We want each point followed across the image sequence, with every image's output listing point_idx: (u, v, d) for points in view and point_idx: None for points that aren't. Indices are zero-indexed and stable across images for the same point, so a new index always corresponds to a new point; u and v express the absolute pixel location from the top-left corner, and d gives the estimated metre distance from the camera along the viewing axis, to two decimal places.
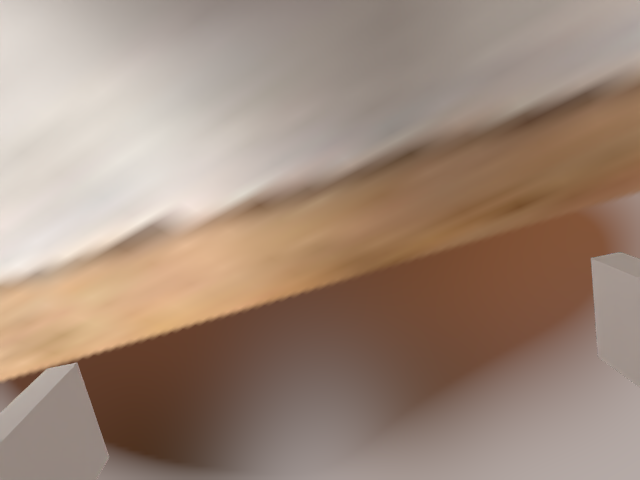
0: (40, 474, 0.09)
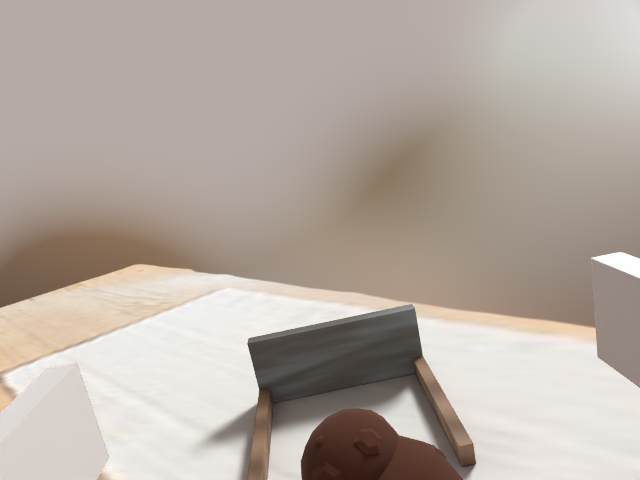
0: (40, 474, 0.09)
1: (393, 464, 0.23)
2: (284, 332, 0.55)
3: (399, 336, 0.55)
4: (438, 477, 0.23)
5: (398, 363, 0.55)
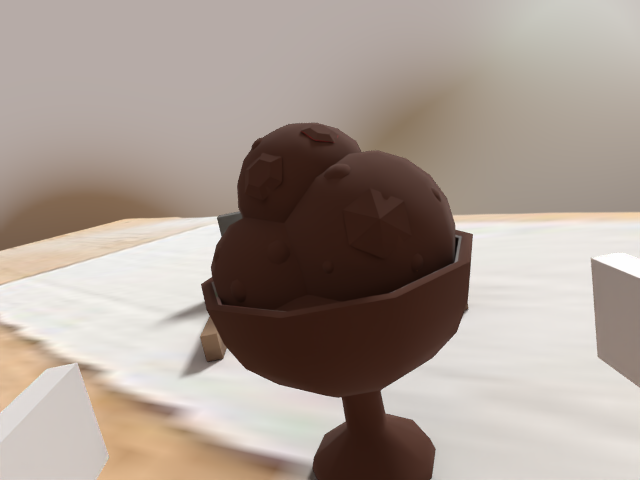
0: (40, 474, 0.09)
1: (350, 155, 0.17)
2: None
3: None
4: (409, 168, 0.17)
5: None
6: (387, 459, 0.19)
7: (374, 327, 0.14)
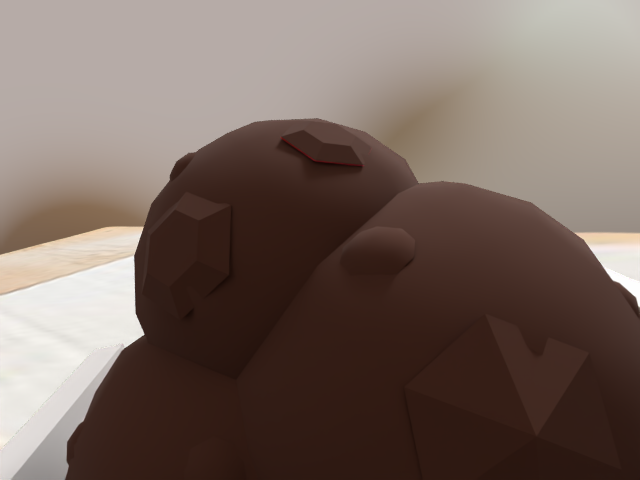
0: None
1: (404, 199, 0.07)
2: None
3: None
4: (558, 232, 0.07)
5: None
6: None
7: None
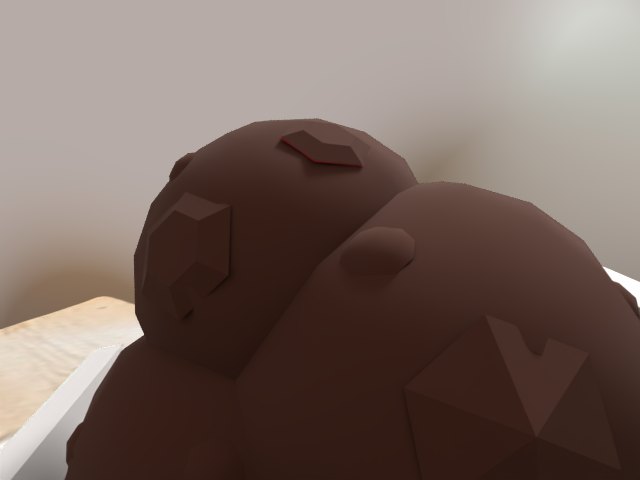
0: None
1: (404, 199, 0.07)
2: None
3: None
4: (557, 232, 0.07)
5: None
6: None
7: None
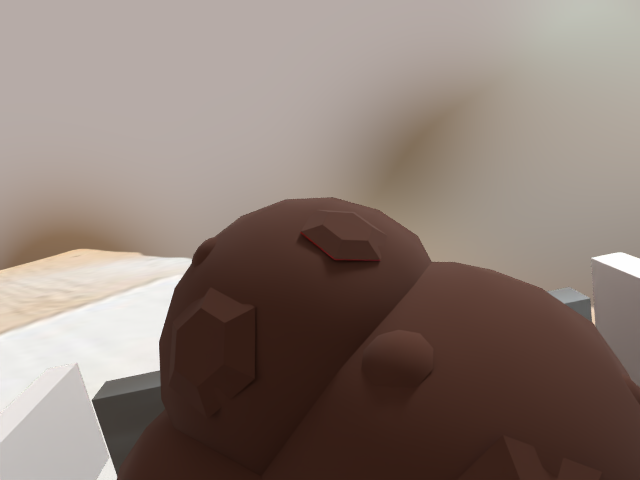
0: (40, 474, 0.09)
1: (421, 294, 0.07)
2: None
3: None
4: (568, 329, 0.07)
5: None
6: None
7: None
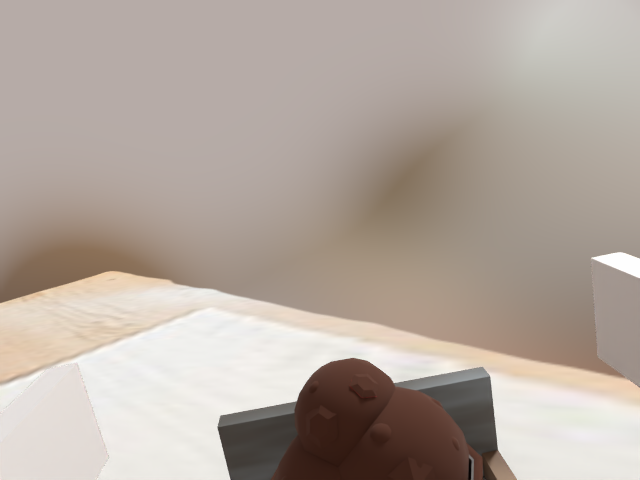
0: (40, 474, 0.09)
1: (389, 409, 0.22)
2: (277, 409, 0.34)
3: (462, 419, 0.34)
4: (435, 422, 0.22)
5: None
6: None
7: None
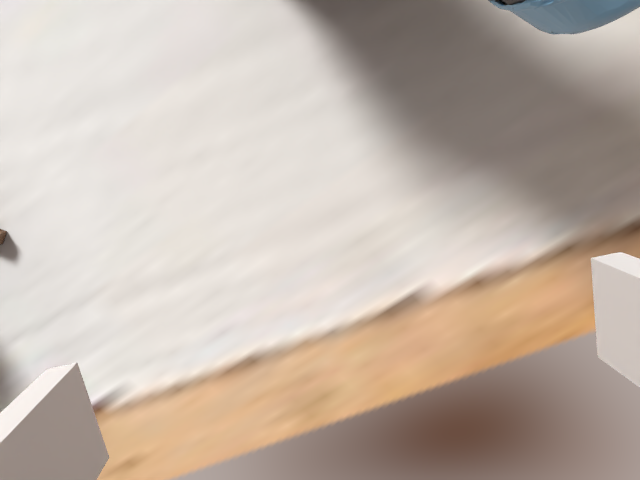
0: (40, 474, 0.09)
1: None
2: None
3: None
4: None
5: None
6: None
7: None
